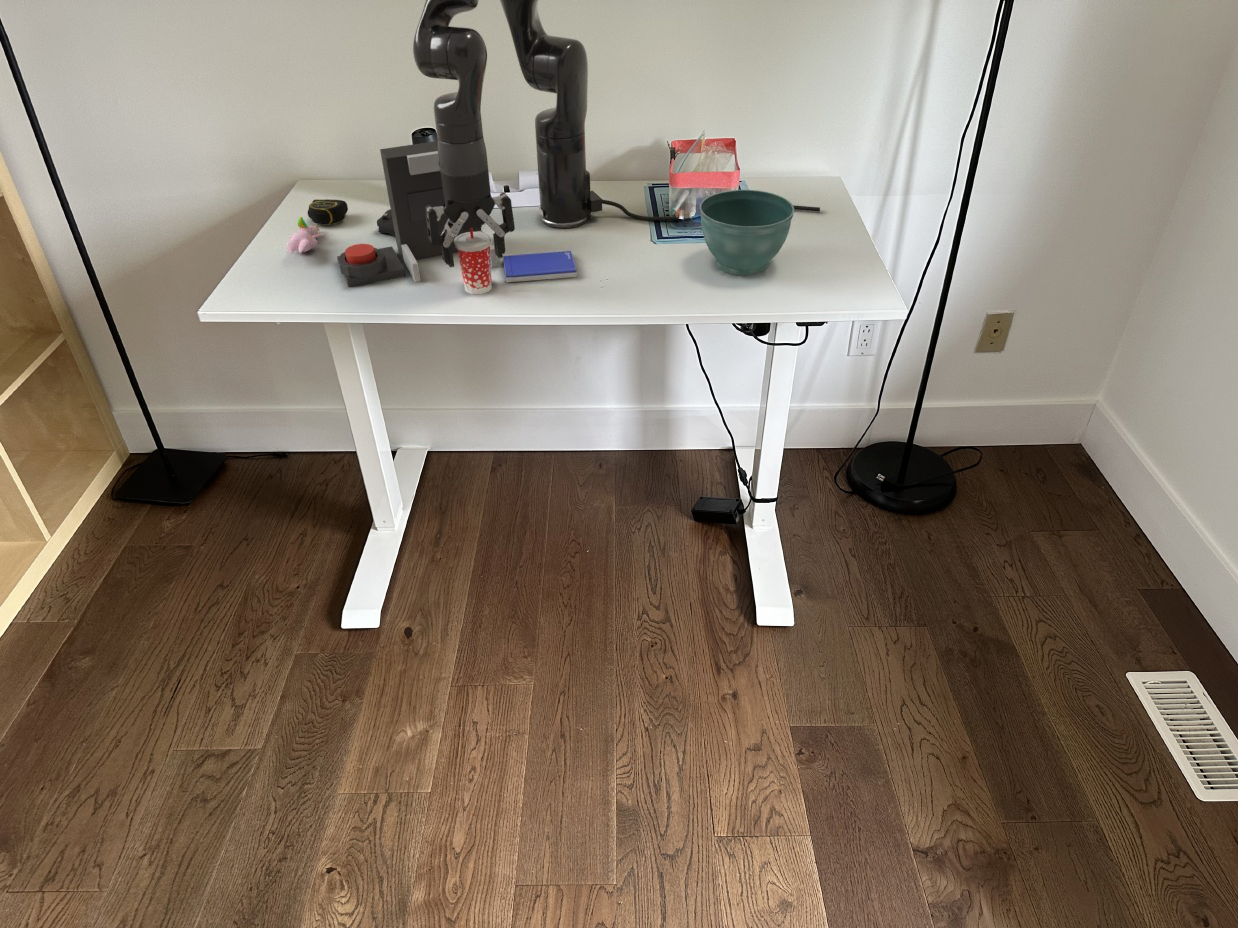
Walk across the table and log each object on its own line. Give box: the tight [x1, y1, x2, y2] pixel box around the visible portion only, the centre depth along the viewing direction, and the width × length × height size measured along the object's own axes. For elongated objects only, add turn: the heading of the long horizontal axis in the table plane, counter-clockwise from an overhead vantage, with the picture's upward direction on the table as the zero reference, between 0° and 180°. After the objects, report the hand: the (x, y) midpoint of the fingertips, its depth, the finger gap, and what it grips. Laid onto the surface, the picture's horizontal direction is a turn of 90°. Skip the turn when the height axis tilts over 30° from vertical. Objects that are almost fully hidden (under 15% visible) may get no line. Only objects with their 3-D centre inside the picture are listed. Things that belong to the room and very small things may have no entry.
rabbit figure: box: [285, 216, 324, 255], centre depth 160 cm, size 6×6×15 cm
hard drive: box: [502, 250, 578, 283], centre depth 154 cm, size 2×8×12 cm
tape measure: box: [307, 199, 349, 226], centre depth 171 cm, size 7×7×4 cm
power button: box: [344, 243, 376, 264], centre depth 151 cm, size 5×5×2 cm
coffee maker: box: [379, 140, 498, 283], centre depth 153 cm, size 15×14×19 cm
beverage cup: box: [454, 228, 493, 295], centre depth 145 cm, size 6×6×14 cm
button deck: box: [336, 246, 406, 288], centre depth 154 cm, size 10×10×4 cm
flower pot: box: [699, 189, 795, 276], centre depth 153 cm, size 16×16×11 cm
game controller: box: [376, 208, 396, 237], centre depth 168 cm, size 10×5×6 cm
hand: (475, 260), depth 147 cm, fingers open, 8 cm apart
